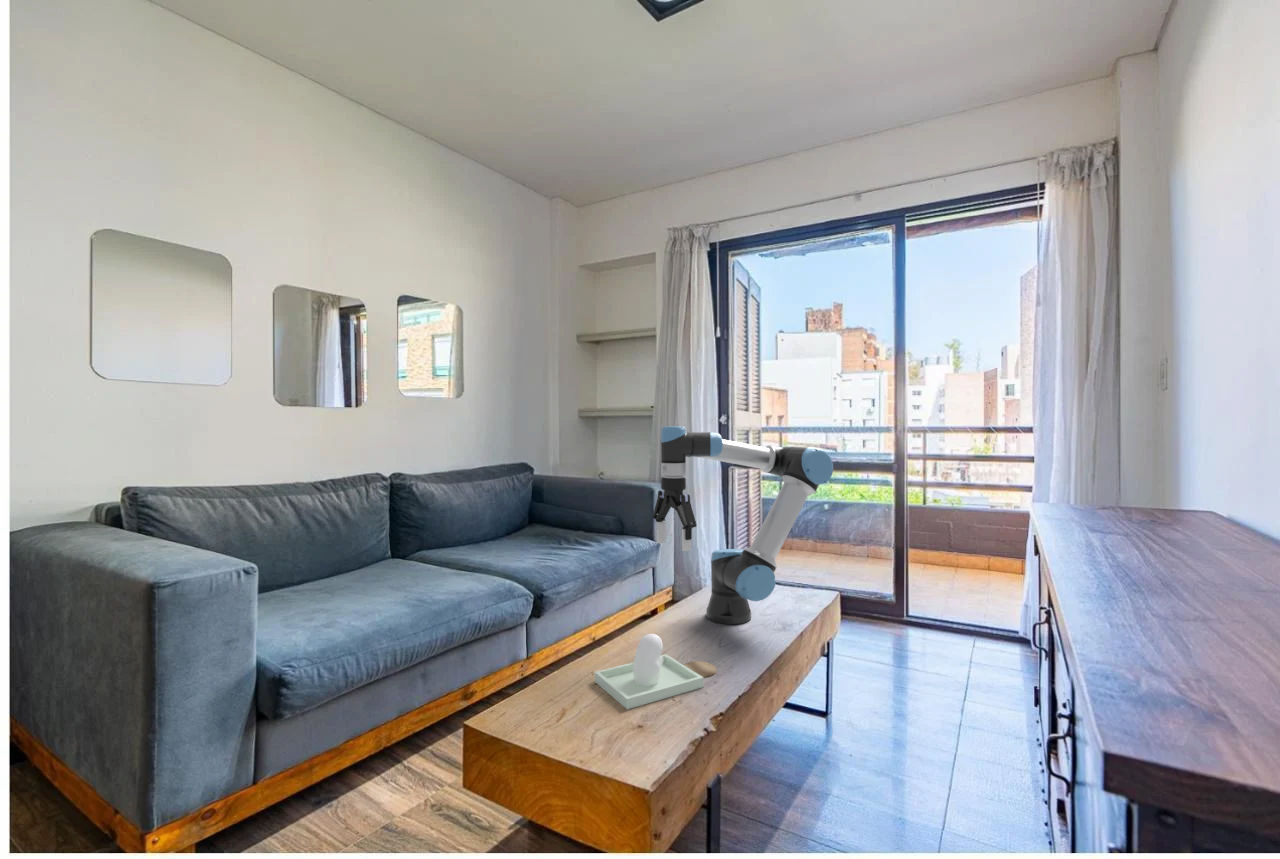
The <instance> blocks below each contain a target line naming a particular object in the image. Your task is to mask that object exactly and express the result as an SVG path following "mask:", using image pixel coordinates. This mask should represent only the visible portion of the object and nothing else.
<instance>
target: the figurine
mask: <svg viewBox="0 0 1280 859" xmlns="http://www.w3.org/2000/svg"><path fill="white" fill-rule="evenodd" d="M663 650H664V643H663V641H662V638H661V637H660V636H659V635H657V634H656V633H648V634H645V635H644V636H642V638H641V639H640V641H639V643H638V645H637V648H636V651H635V655H634V659H633V662H634V663H633V662H632V663H633V675H634V681H635V683H636V684H637V685H640V686H645V687H647V686H653V685H656V684H657V683H658V681H659V678H660V669H661V666H662V664H663V661H664V660H663V657H662V656H661V655H662V652H663Z"/></svg>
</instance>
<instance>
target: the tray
mask: <svg viewBox="0 0 1280 859" xmlns="http://www.w3.org/2000/svg"><path fill="white" fill-rule="evenodd" d="M661 656H662V657H663V660H664V661H663V664H662V666H661V669H660V678H659V681H658V683H657V684H656V685H653V686H647V687H645V686H640V685H637V684H636V683H635V681H634V675H633V663H634V661H633V662H629V663H625V664H621V665H617V666H613V667H609V668H605V669H601V670H598V671H594V683H596V684H597V686H599V687H601V688H602V689H603V690H604V691H605V692H606V693H607V694H609V696H611V697H612V698H613V699H615V700H616V701H617V702H618V704H620V705H621V706H622V707H623V708H625V709H626V710H630V709H634V708H637V707H640V706H643V705H647V704H651V703H654V702H657V701H661V700H664V699H668V698H672V697H675V696H678V695H681V694H684V693H688V692H692V691H695V690H698V689H701V688H704V687H705V686H704V684H705V683H704V679H705V677H702V676H701V675H699V674H697V673H696V672H694V671H692V670H691V669H689V668H688V667H686V666H684V665H685V664H682V663H681V662H680V661H678V660H676V659H675V658H673V657H671V656H670V655H668V654H667V653H666V654H661Z"/></svg>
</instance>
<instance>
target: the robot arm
mask: <svg viewBox="0 0 1280 859" xmlns="http://www.w3.org/2000/svg"><path fill="white" fill-rule="evenodd" d="M660 431H661V434H660V462H661V464H660V465H661V466H660V475H661V476H662V477H661V478H660V488H661V490H658V491H657V498H656V499H657V500H656V502H655V503H656V504H655V507H654V509H653V512H652V513H653V514H652V519H653V520H654V519H655V522H656V531H657V532H656V542H657V544H663V543H667V541H666V540H667V538H666V537H667V530H666V529H667V527H666V526H667V525H666V524H667V522H666V516H667V515H668V513H669V512H670V510H671V508H672V509H674V511H676V512H677V515H678V517H679V520H680V522H681V524H682V528H681V551H682V552H687V551H692V535H693V534H692V533H693V532H692V530H693V529H694V528H697V522H696V517H695V514H694V511H693V507H692V503H691V496H690V494H688V493H687V494H684V493H683V492H684V491H685V490H686V488H687V487H686V486H687V485H686V484H687V479H686V477H685V476H686V475H687V469H686V468H687V464H686V462H687V461H686V460H687V459H686V458H690V457H692V458H693V457H694V458H696V457H697V458H700V459H701V458H702V459H706V460H711V461H717V462H723V463H728V464H733V465H734V464H735V465H739V466H745V467H750V468H756V469H760V470H761V472H763V473H765V474H766V473H767V474H771V475H775V476H778V477H781V478H782V481H783V484H782V487H781V489H780V490H779V492H778V494H777V496H776V498H775V500H774V502H773V503H772V506H771V508H770V510H769V511H768V513H767V515H766V517H765V519H764V521H763V523H762V525H761V526H760V528H759V531H758V532H757V534H756V536H755V538H754V540H753V541H752V543H751V545H750V547H746V548H742V549H741V548H740V549H739V548H727V549H726V548H723V549H715V550H713V552H712V553H711V559H710V564H711V566H710V567H711V568H710V569H711V571H710V573H711V578H710V579H711V594H710V597H709V601H708V605H707V608H706V611H705V612H706V619H708V620H710V621H711V622H713V623H718V624H724V625H740V624H741V625H742V624H745V623H748V622H750V621H751V619H752V610H751V608H750V604H749V601H751V602H760V601H763V600H765V599H767V598H769V597H770V596H771V594H772V593H773V591H774V590H775V587H776V581H777V580H776V575H775V572H776V569H777V564H776V559H777V557H778V555H779V553H780V551H781V549H782V548H783V546H784V544H785V541H786V539H787V537H788V536H789V533H790V532H791V530H792V528H793V525H794V523H796V521H797V520H796V519H797V518H798V517H799V514H800V512H801V510H802V508H803V507H804V504H805V503H806V500H807V499H808V496H810V495H811V496H812V495H813V494H816V492H817V490H818V488H819V486H820V485H824V484H825V483H826V484H827V483H828V482H829V481H830V480H831V478H832V476H833V472H834V463H833V459H832V457H831V455H830V454H829V453H828V452H827V451H825V450H824V449H822V448H817V447H814V446H810V447H809V446H808V447H805V446H775V445H771V444H770V445H766V446H764V447H763V446H759V445H754V444H750V443H745V442H744V443H743V442H738V441H733V440H728V439H723V438H722V435H721V434H720V433H718V432H710V431H709V432H701V431H700V432H699V431H698V432H695V431H694V432H692V431H691V432H689V431H688V432H687V430H686V427H685V426H682V425H681V426H669V425H668V426H663V427H662V428H661V430H660ZM748 600H749V601H748Z"/></svg>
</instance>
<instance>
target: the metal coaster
mask: <svg viewBox="0 0 1280 859" xmlns="http://www.w3.org/2000/svg"><path fill="white" fill-rule="evenodd" d="M683 665H684V666H686V667H688V668H689V669H691V670H692V671H694V672H696V673H697V674H699V675H701V676H702V677H704V678H709V677H712V676H714V675H715V674H717V667H716V666H715V665H714V664H713V663H711V662H706V661H698V660H697V661H696V660H695V661H690V662H687V663H685V664H683Z"/></svg>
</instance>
